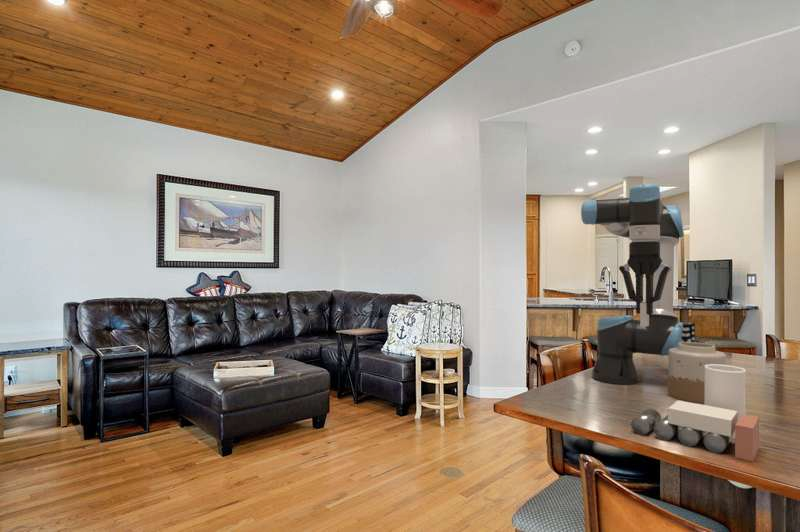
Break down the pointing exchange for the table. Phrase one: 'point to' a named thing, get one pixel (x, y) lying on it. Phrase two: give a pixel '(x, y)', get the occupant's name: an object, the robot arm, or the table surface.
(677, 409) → the board
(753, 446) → the block
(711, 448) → the rollers
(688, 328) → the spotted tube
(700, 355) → the vase
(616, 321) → the robot arm
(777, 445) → the table surface
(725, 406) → the cup
